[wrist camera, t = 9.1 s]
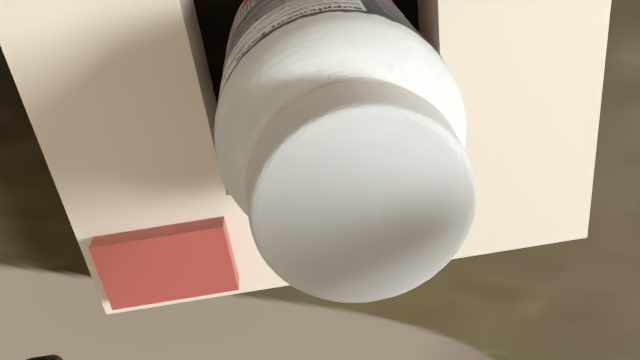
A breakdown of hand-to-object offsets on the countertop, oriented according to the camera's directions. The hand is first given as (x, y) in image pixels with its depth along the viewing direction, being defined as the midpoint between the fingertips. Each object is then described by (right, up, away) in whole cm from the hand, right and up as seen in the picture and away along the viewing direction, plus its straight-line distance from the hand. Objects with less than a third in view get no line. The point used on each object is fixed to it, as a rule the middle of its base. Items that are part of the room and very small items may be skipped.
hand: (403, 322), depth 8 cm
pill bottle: (-1, +6, +11) cm, 13 cm away
